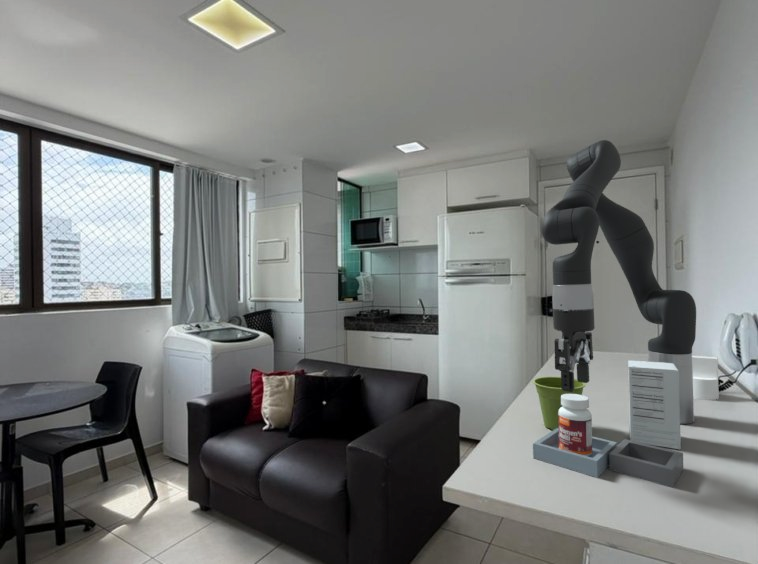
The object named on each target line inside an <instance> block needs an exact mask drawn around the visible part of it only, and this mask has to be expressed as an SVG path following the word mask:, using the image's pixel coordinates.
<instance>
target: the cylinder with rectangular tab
mask: <svg viewBox="0 0 758 564" xmlns="http://www.w3.org/2000/svg"><path fill="white" fill-rule="evenodd" d="M718 359H719V358H718V357H716V356H704V355H703V356H701V355H692V368H693V400H694V399H695V400H703V401H704V400H705V401H715V400H716V399H717V400H719V398H720V397H719V395H720V394H719V363H718V362H719V361H718Z"/></svg>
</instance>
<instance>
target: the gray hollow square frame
mask: <svg viewBox="0 0 758 564" xmlns="http://www.w3.org/2000/svg"><path fill="white" fill-rule="evenodd" d="M609 460H610V465H609V470H611V471H614V472H618V473H621V474H625V475H627V476H632V477H634V478H639V479H641V480H644V481H648V482H653V483H656V484H660V485H662V486H665V487H669V488H674V486H675V484H676V482H677V481H678V479H679V477H680V476H681V474H682V472H683V470H684V452H680V451H679V450H673V449H670V448H668V449H667V448H666V447H661V446H655V445H649V444H643V443H639V442H634V441H630V439H625V438H624V439H623V440H621V442H619V444H617V447H616V448H615V449H614V450H613V451H612V452H611V453H610V454H609Z"/></svg>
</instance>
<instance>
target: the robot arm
mask: <svg viewBox="0 0 758 564" xmlns="http://www.w3.org/2000/svg"><path fill="white" fill-rule="evenodd" d="M621 163H622V161H621V155H620V153H619V150H618V149H617V147H616V146H615V145H614V144H613V142H611V141H609V140H607V139H603V140H602V139H601V140H599V141H596V142H593V143H591V144H590V145H588V146H586V147H584V148H582V149H581V150H579V151H577V152H576V153H574V154H572V155H570V156H568V158H567V159H566V169H567V172H568V173H569V174H568V175H569V176H570V179H571V181H572V183H571V184H570V185H569V186H568V188H567V189H566V191H565V192H564V195H563V197H562V199H561V200H560V201H558V202H557V203H556V204H554V205H553V206H552V207H551V208H550V209H549V210H548V211H547V212H546V213H545V214H544V217H543V219H542V222H541V224H540V231H541V232H540V233H541V236H542V238H543V239H544V240H545V242H547V243H548V244H550V245H556V246H557V245H567V244H576V243H577V246H576V247H575V249H574V250H573V251H572V252H570V253H567V254H564V255H560V256H557V257H555V258H554V259H553V260H552V261H553V262H552V287H553V288H552V298H551V300H552V318H553V319H552V320H553V321H552V322H553V323H552V324H553V329H554V330H555V331H558V332H559V331H560V332H562V333H561V338H555V339H554V342H553V343H554V369H555V370H556V371H557V370H558V371H559V372H560V377H561V388H562V390H563V391H568V392H572V391H574V379H575V372H574V371H575V366H576V380H577V381H578V382H582V383H585V384H587V383H589V382H590V364H591V361H593V360H594V350H593V334H592V331H594V329H595V310H594V309H595V307H594V305H595V303H594V301H595V300H594V293H593V287H592V286H593V285H592V266H591V265H592V256H593V251H594V247H595V243H596V239H597V235H598V233H599V230H600V229H601V231H602V234H603V236H604V237H605V240H606V242H607V243H608V245H609V248H610V250H611V251H612V253H613V255H614V256H615V258H616V260H617V262H618V264H619V266H620V268H621V269H622V272H623V275H624V276H625V278H626V280H627V282H628V284H629V285H628V286H629V287H630V289H631V292H632V295H633V297H634V300H635V302H636V305H637V309H638V310H639V312H640V314H641V315H642V317H643V318H644V320H646V321H647V322H649V323H652V324H655V325H661V328H662V329H661V333H660V335H658V336H656V337H652V338H651V339H649V340H648V341H647V355H648V356H647V359H648V361H647V362H663V363H673V364H674V365H675V367H676V368H677V369H678V371H679V402H680V425H681V424H684V425H685V424H692V423H693V422H694V421H695V415H694V414H695V413H694V412H695V411H694V408H695V407H694V398H693V368H692V356H693V346H694V344H695V341H696V333H697V331H696V330H697V329H696V328H697V306H696V302H695V299H694V297H693V295H692V294H690V293H689V292H687V291H685V290H680V289H663V288H662V286H661V285H660V284H659V283H658V281H657V279H656V276H655V273H654V271H653V260H654V252H655V244H654V240H653V239H654V238H653V237H652V235H651V233H650V231H649V229H648V227H647V225H646V223H645V221H644V220H643V219H642V217H641V216H639V214H637V213H636V212H634V211H632V210H630V209H628V208H626V207H624V206H622V205H621V204H619V203H616V202H615V201H613V200H611V199H610V198H609V197H607V196H606V195H605V194H604V193H603V192H604V190H605V189H606V188H607V186H608V185H609V184H610V183H611V182H612V181H611V180H613V178H614V177H615V176H616V174H617V173H618V172H619V170H620V168H621ZM599 227H600V229H599Z"/></svg>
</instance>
